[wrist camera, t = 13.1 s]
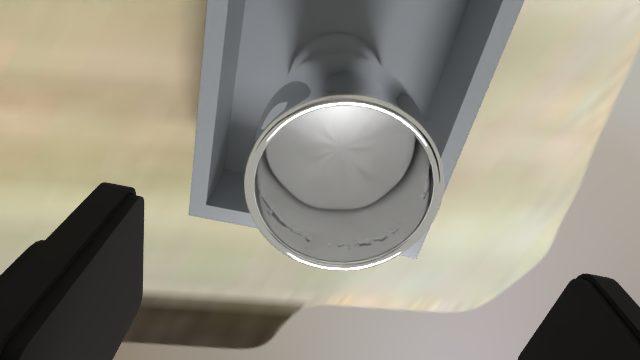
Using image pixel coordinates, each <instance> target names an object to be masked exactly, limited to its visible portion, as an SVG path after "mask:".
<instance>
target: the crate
mask: <svg viewBox="0 0 640 360" xmlns="http://www.w3.org/2000/svg"><path fill="white" fill-rule="evenodd" d="M523 2H524V0H208V1H207V12H206V24H205V35H204V46H203V58H202V69H201V80H200V91H199V103H198V114H197V125H196V137H195V148H194V159H193V171H192V182H191V193H190V204H189V215H190V216H195V217H201V218H206V219H211V220H216V221H221V222H227V223H232V224H237V225H242V226H248V227H253V228H257V226H256V225H255V223H254V221H253V219H252V217H251V215H250V212H249V209H248V206H247V202H246V198H245V189H244V179H245V171H246V166H247V162H248V159H249V156H250V153H251V148H252V143H253V139H254V134H255V130H256V127H257V124H258V121H259V118H260V116H261V113H262V110H263V108H264V106H265V104H266V102H267V101H268V99H269V97H270V95H271V94H272V92H273V90H274V89H275V87H276V86H277V85H278V83H279V82H280V81H281V80H282V79H283V78H284V77H285V76H286V75H287V74H288V73H289V71H290V67H291V64H292V62H293V60H294V58H295V56H296V54H297V53H298V52H299V50H300V49H301V48H302V47H303V46H304V45H305V44H306V43H307V42H309V41H310V40H312V39H314V38H316V37H318V36H321V35H324V34H328V33H344V34H348V35H352V36H354V37H356V38H358V39H360V40H362V41H363V42H364V43H366V44H367V45H368V46H369V47H370V48H371V49H372V50H373V52H374V53H375V55H376V56H377V58H378V60H379V63H380V65H381V66H383V67H385V68H386V69H387V70H389V71H390V72H391V73H393V74H394V75H395V76H396V77H397V78H398V79H399V80H400V82H401V83H402V84H403V85H404V86H405V88H406V89H407V90H408V91H409V93H410V94H411V95H412V97H413V99H414V100H415V102H416V104H417V106H418V108H419V109H420V111H421V113H422V115H423V117H424V120H425V122H426V125H427V127H428V130H429V132H430V135H431V138H432V140H433V142H434V144H435V146H436V148H437V150H438V152H439V155H440V158H441V162H442V166H443V173H444V189H443V195H444V192H445V190H446V187H447V185H448V183H449V180H450V178H451V175H452V173H453V171H454V168H455V166H456V163H457V161H458V159H459V156H460V154H461V151H462V149H463V147H464V144H465V142H466V139H467V137H468V135H469V132H470V130H471V127H472V125H473V123H474V120H475V118H476V115H477V113H478V111H479V108H480V106H481V103H482V101H483V99H484V96H485V94H486V91H487V89H488V86H489V84H490V82H491V79H492V77H493V74H494V72H495V70H496V67H497V65H498V62H499V60H500V58H501V55H502V53H503V50H504V48H505V46H506V43H507V41H508V38H509V36H510V34H511V31H512V29H513V26H514V24H515V22H516V19H517V17H518V14H519V12H520V10H521V7H522V5H523ZM442 197H443V196H442ZM430 226H431V225H430ZM429 228H430V227H429ZM429 228H428V230H427V231H426V232H425V234H424V235H423V236H422V237H421V238H420V239H419V240H418V241H417V242H416V243H415V244H414V245H413V246H412V247H410V248H409V249H408V250H406V251H405V252H404V253H402V254H400V255H399V256H404V257H409V258H415V259H417V257H418V255H419V252H420V250H421V247H422V245H423V243H424V240H425V238H426V235H427V233H428V231H429Z"/></svg>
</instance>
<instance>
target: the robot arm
mask: <svg viewBox="0 0 640 360" xmlns="http://www.w3.org/2000/svg"><path fill="white" fill-rule="evenodd" d="M143 243H144V199H143V197H141V196H136V192H135V189H134V188H132V187H127V186H122V185H117V184H111V183H106V182H104V183H101V184H100V185H99V186H98V187H97V188H96V189H95V190H94V191H93V192H92V193H91V194H90V195H89V196H88V197H87V198H86V199H85V200H84V201H83V202H82V203H81V204H80V205H79V206H78V207H77V208H76V209H75V210H74V211H73V212H72V213H71V214H70V215H69V216H68V217H67V218H66V220H65V221H64V222H63V223H62V224H61V225H60V226H59V227H58V228H57V229H56V230H55V231H54V232H53V233H52V234H51V235H50V236H49V237H48V238H47V239H46V240H40V241H37V242H35V243H34V244H32V245H31V246H30V247H29V248H28V249H27V250H26V251H24V252H23V253H22V254H21V255H20V256H19V257H18V258H17V259H16V260H15V261H14V262H13V263H12V264H11V265H10V266H9V267H8V268H7V269H6V270H5V271H4V272H3V273H2V274H1V275H0V360H112V359H113V358H114V356H115V354H116V352H117V350H118V348H119V346H120V344H121V342H122V340H123V338H124V337H125V335H126V333H127V331H128V329H129V327H130V325H131V323H132V321H133V319H134V317H135V315H136V314H137V312H138V309H139V307H140V304H141V300H142V294H143ZM518 360H640V307H639V306H638V305H637V304H636V303H635V302H634V300H633V299H632V298H631V297H630V296H629V295H628V294H627V293H626V292H625V290H624V289H623V288H622V287H621V286H620V285H619V284H618V283H617V282H616V281H615V280H613V279H611V278H607V277H602V276H597V275H591V274H582V275H580V276H578V277H577V278H576V279H573V280H571V281H570V282H569V284H568V285H567V287H566V288H565V289H564V291H563V292H562V294H561V295H560V297H559V298H558V300H557V301H556V303H555V304H554V306H553V307H552V308H551V310H550V311H549V313H548V314H547V316H546V317H545V319H544V320H543V322H542V323H541V325H540V326H539V327H538V329H537V330H536V332H535V333H534V335H533V337H532V338H531V339H530V341H529V342H528V344H527V345H526V346H525V348H524V349H523V351H522V352H521V354H520V355H519V357H518Z"/></svg>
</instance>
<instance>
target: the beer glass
mask: <svg viewBox="0 0 640 360" xmlns="http://www.w3.org/2000/svg"><path fill="white" fill-rule="evenodd" d="M244 189H245V198H246V202H247V206H248V209H249V212H250V215H251V217H252V219H253V221H254V223H255V225H256V226H257V228H258V229H259V231H260V232H261V233H262V235H263V236H264V237H265V238H266V239H267V240H268V241H269V242H270V243H271V244H272V245H273V246H274V247H275V248H277V249H278V250H279V251H281V252H282V253H283V254H285V255H287V256H288V257H290V258H292V259H294V260H296V261H298V262H300V263H303V264H306V265H309V266H312V267H315V268H320V269H326V270H334V271H350V270H359V269H365V268H369V267H373V266H376V265H379V264H382V263H385V262H387V261H389V260H391V259H393V258H395V257H397V256H399V255H400V254H402V253H404V252H405V251H406V250H408V249H409V248H410V247H412V246H413V245H414V244H415V243H416V242H417V241H418V240H419V239H420V238H421V237H422V236H423V235H424V234H425V232H426V231H427V230H428V228H429V227H430V225H431V224H432V222H433V221H434V219H435V217H436V215H437V212H438V210H439V207H440V204H441V201H442V196H443V189H444V173H443V166H442V162H441V158H440V155H439V152H438V150H437V148H436V146H435V144H434V142H433V140H432V138H431V135H430V132H429V130H428V127H427V125H426V122H425V120H424V117H423V115H422V113H421V111H420V109H419V108H418V106H417V104H416V102H415V100H414V99H413V97H412V95H411V94H410V93H409V91H408V90H407V89H406V88H405V86H404V85H403V84H402V83H401V82H400V80H399V79H398V78H397V77H396V76H395V75H394V74H393V73H391V72H390V71H389V70H387V69H386V68H385V67H383V66H381V65H380V63H379V60H378V58H377V56H376V55H375V53H374V52H373V50H372V49H371V48H370V47H369V46H368V45H367V44H366V43H364V42H363V41H362V40H360V39H358V38H356V37H354V36H352V35H348V34H344V33H328V34H324V35H321V36H318V37H316V38H314V39H312V40H310V41H309V42H307V43H306V44H305V45H304V46H303V47H302V48H301V49H300V50H299V52H298V53H297V54H296V56H295V58H294V60H293V62H292V64H291V67H290V71H289V73H288V74H287V75H286V76H285V77H284V78H283V79H282V80H281V81H280V82H279V83H278V85H277V86H276V87H275V89H274V90H273V92H272V94H271V95H270V97H269V99H268V101H267V102H266V104H265V106H264V108H263V110H262V113H261V116H260V118H259V121H258V124H257V127H256V130H255V134H254V139H253V143H252V148H251V153H250V156H249V159H248V162H247V166H246V171H245V179H244Z"/></svg>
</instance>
